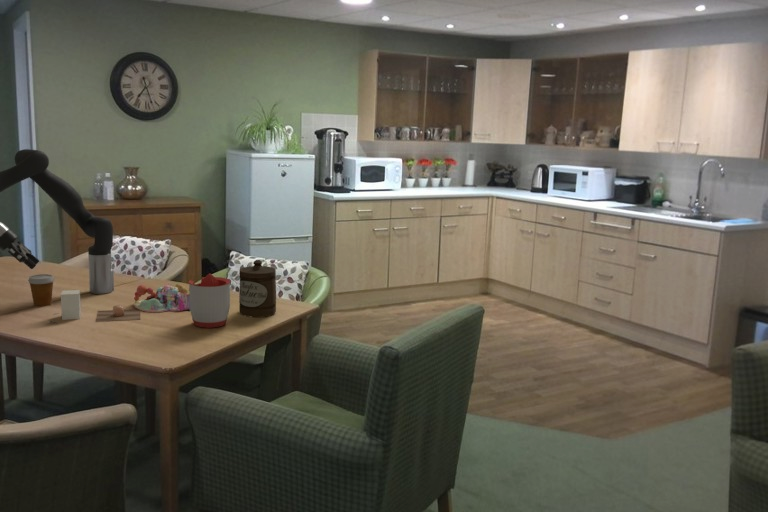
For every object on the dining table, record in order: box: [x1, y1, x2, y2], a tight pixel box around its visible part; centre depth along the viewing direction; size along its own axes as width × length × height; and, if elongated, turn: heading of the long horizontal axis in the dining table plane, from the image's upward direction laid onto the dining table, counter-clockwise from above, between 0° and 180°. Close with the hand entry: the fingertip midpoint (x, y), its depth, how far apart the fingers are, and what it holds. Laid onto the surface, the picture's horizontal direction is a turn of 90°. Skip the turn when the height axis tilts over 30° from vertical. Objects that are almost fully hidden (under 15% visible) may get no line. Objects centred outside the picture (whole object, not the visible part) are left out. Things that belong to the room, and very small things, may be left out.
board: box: [95, 308, 141, 323], centre depth 275 cm, size 16×16×1 cm
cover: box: [60, 289, 82, 321], centre depth 269 cm, size 6×6×10 cm
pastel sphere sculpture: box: [133, 283, 190, 314], centre depth 292 cm, size 25×24×9 cm
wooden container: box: [238, 259, 277, 318], centre depth 287 cm, size 15×15×22 cm
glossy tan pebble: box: [112, 304, 125, 317], centre depth 275 cm, size 4×4×4 cm
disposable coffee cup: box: [27, 273, 55, 307], centre depth 286 cm, size 10×10×12 cm
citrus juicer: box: [188, 273, 232, 329], centre depth 269 cm, size 16×17×20 cm
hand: (35, 265), depth 265 cm, fingers open, 8 cm apart
